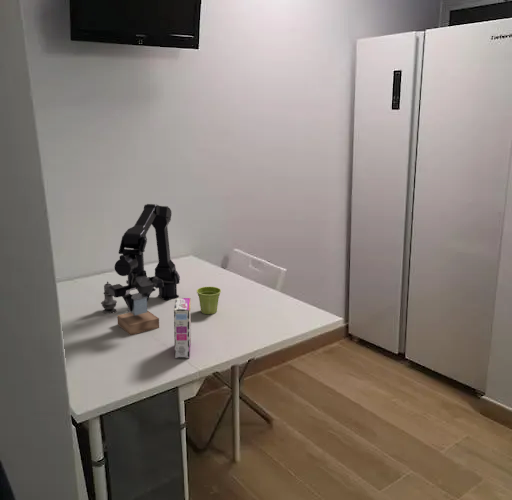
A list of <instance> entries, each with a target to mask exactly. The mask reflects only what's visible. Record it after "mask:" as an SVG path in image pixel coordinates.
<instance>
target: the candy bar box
mask: <svg viewBox="0 0 512 500" xmlns="http://www.w3.org/2000/svg"><path fill="white" fill-rule="evenodd" d="M191 308H192V307H191V298H190V297H181V298H179V297H176V299H175V302H174V308H173V321H174V322H173V325H174V327H173V329H174V332H173V333H174V359H190V358H191V357H190V356H191V345H192V338H191V337H192V333H191V332H192V331H191V330H192V329H191V328H192V327H191V326H192V324H191V323H192V322H191V320H192V317H191V315H192V313H191Z"/></svg>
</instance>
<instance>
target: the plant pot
mask: <svg viewBox="0 0 512 500" xmlns="http://www.w3.org/2000/svg"><path fill="white" fill-rule="evenodd" d="M221 293H222V289H221V288H219V287H217V286H203V287H199V288H197V289H196V294H197V296H198V300H199V307H200V312H201V313H202V314H204V315H210V314H216V313H217V312H218V305H219V299H220V295H221Z"/></svg>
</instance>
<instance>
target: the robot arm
mask: <svg viewBox="0 0 512 500" xmlns="http://www.w3.org/2000/svg"><path fill="white" fill-rule="evenodd" d="M143 206H144V207H143V210H142V212H141V213H140V216H139V217H138V218H137V221H136V222H135V224H134V226H132V227H129V228H127V230H126V231H125V232H124V233H123V235H122V236H121V241H120V245H119V249H118V255H120V256H119V259H118V260H117V261H116V262H115V264H114V271H115V273H116V274H118V275H119V276H121V277H126V276H127V280H126V281H125V282H126V284H127V285H122V284H120V283H116V284H111V286H110V287H109V289H108V291H109V294H110V295H112V296H113V298H121V297H122V299H123V300H124V302H125V304H126V307H127V309H128V308H129V310H130V311H132V302H131V297H132V295H131V294H132V293H131V291H134V290H137V293H140V294H144V295H145V296H147V303H148V301H149V299H150V297H151V294H152V293H153V292H155V291H156V289H158V295H157V296H158V297H159V298H161V299H163V300H164V301H168V300H171V299H175V298H179V297H180V296H179V294H178V289H177V288H178V285H179V284H180V280H181V279H180V278H181V277H180V274H179V273H178V271H177V270H176V269H177V267H176V264H175V263H174V262H173V261H172V260H171V252H170V251H171V250H170V241H169V231H168V225H170V222H171V221H172V210H171V208H170V207H169V206H167V205H159V204H157V203H155V204H154V203H147V204H144V205H143ZM151 226H152V227H153V228H154V231H155V238H156V240H155V241H156V249H157V259H158V263H157V265H156V266H155V268H154V276H149V277H148V276H147V271H146V270H145V263H144V252H145V248H146V246H147V243H148V239H147V233H148V231H149V229H150V228H151Z"/></svg>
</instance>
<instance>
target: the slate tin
mask: <svg viewBox="0 0 512 500" xmlns="http://www.w3.org/2000/svg"><path fill="white" fill-rule="evenodd" d="M130 294H131V295H132V297H131V302H132V311H130V310H129V308H128V307H127V311H128V313H132V314H133V315H139V314H143V313H147V310H148V302H147V296H145V295H144V294H140V293H139V292H136V293H130Z"/></svg>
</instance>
